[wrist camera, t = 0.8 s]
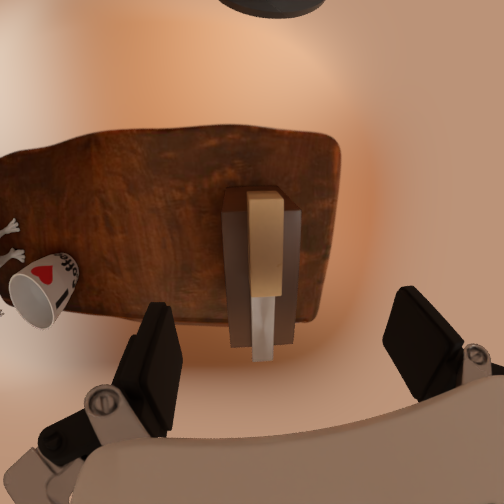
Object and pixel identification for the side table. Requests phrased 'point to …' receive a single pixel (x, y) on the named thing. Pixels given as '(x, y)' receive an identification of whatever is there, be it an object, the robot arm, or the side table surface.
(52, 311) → the cup
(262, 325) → the knife
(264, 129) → the side table surface
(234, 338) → the dark rectangular block
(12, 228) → the figurine
